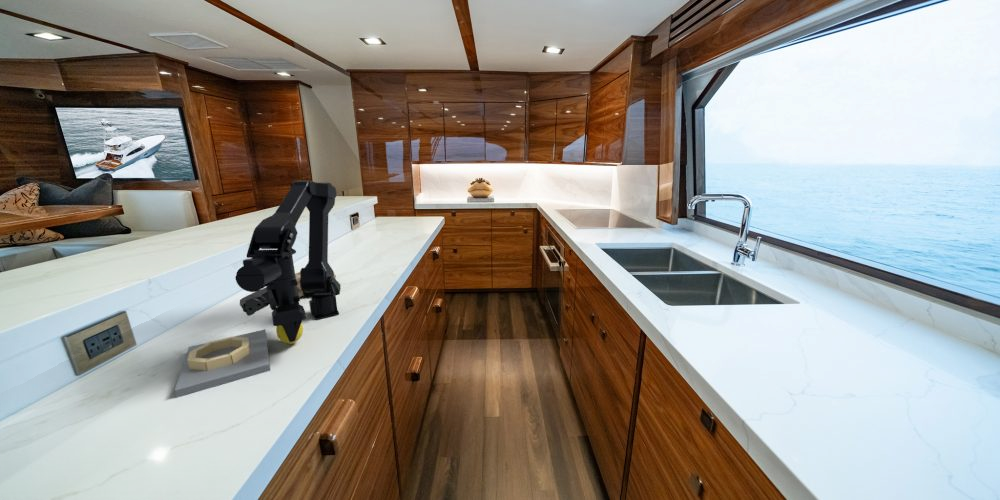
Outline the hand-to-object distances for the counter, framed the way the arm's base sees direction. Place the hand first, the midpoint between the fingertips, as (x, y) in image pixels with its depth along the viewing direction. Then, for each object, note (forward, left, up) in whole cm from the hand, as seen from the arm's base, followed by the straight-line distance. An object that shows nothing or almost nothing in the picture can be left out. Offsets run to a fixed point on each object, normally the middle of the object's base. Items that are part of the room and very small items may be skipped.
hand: (291, 336), depth 83 cm
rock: (-7, -40, -2) cm, 41 cm away
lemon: (0, 0, -2) cm, 2 cm away
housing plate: (+13, 0, -2) cm, 13 cm away
